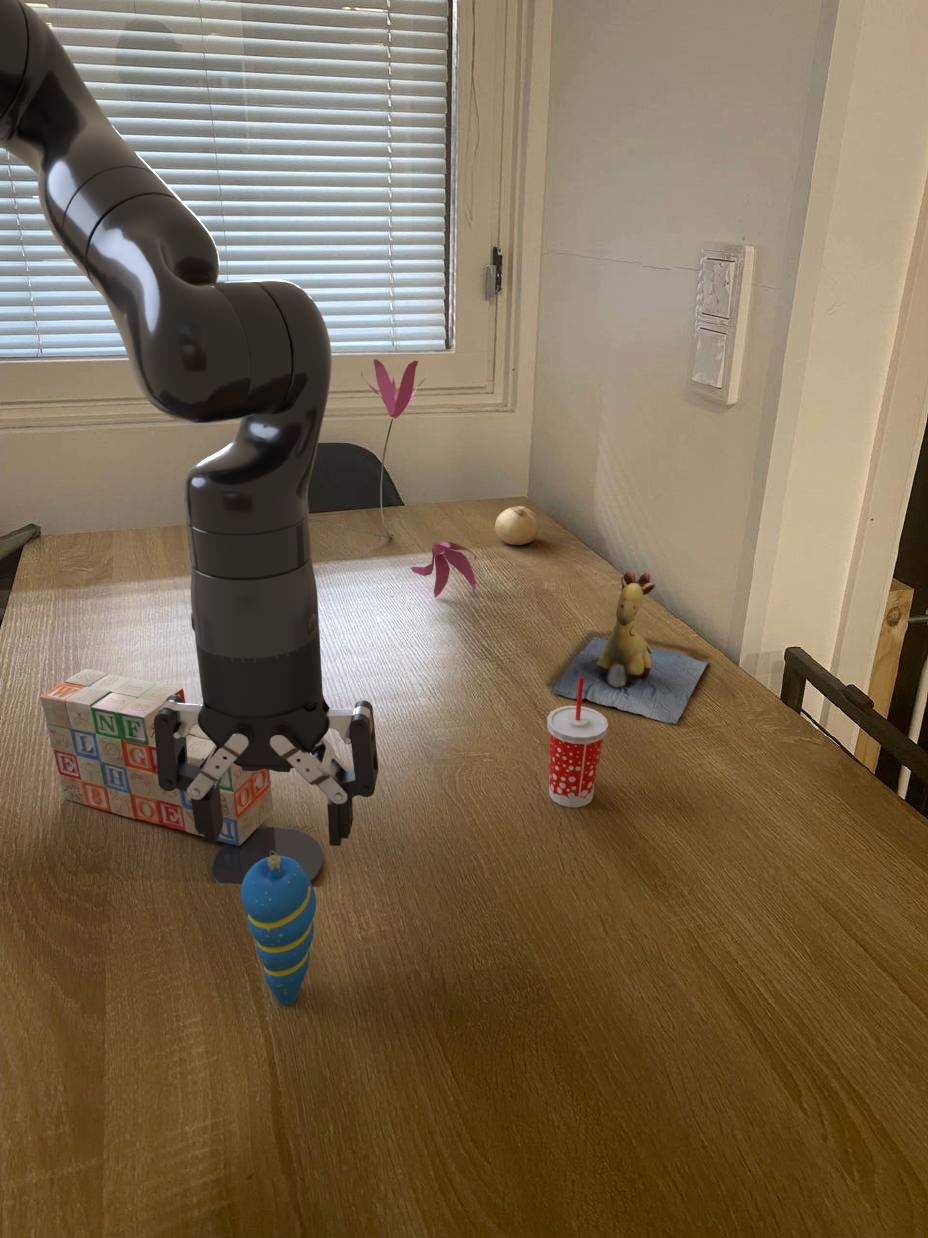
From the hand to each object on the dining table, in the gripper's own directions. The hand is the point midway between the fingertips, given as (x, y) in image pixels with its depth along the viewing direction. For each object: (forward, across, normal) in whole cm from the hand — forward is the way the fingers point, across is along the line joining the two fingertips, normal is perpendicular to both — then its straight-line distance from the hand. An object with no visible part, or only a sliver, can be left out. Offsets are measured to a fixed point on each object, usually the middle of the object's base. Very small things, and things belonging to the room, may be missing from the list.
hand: (275, 836), depth 63 cm
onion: (+17, -20, -105) cm, 108 cm away
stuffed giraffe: (+17, -34, -55) cm, 67 cm away
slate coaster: (+16, +5, -16) cm, 23 cm away
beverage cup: (+17, -24, -29) cm, 41 cm away
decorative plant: (+17, +5, -88) cm, 89 cm away
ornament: (+16, 0, 0) cm, 17 cm away
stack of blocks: (+16, +17, -24) cm, 34 cm away
